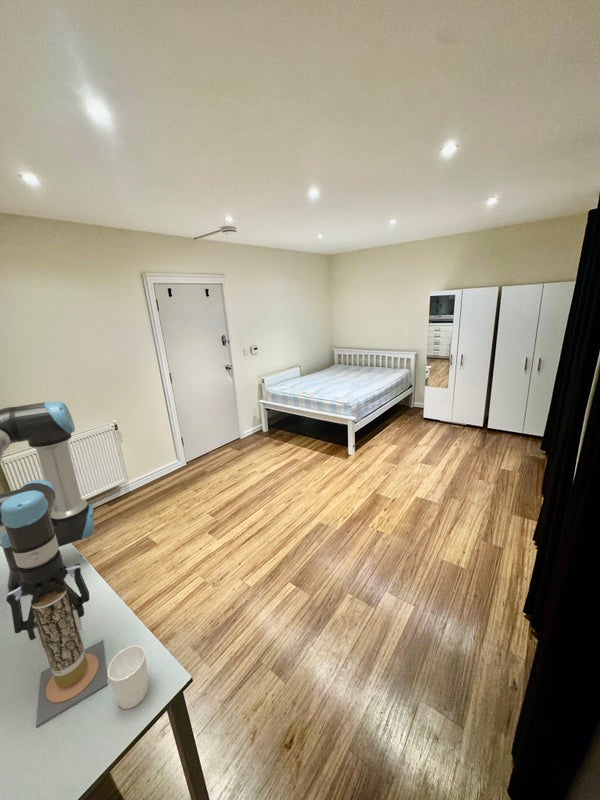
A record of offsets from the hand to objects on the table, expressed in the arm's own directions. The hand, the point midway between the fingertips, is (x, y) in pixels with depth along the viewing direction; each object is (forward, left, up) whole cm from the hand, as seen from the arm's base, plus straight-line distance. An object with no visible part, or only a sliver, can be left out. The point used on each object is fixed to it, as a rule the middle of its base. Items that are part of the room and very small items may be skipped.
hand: (61, 636), depth 76 cm
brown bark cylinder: (0, 0, -12) cm, 12 cm away
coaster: (0, 0, -14) cm, 14 cm away
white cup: (+13, +12, -14) cm, 23 cm away
